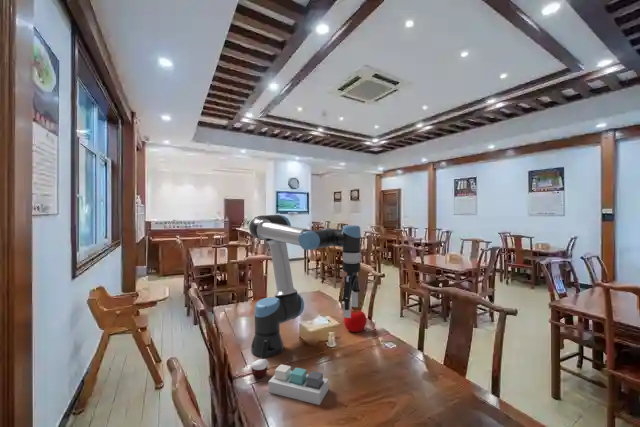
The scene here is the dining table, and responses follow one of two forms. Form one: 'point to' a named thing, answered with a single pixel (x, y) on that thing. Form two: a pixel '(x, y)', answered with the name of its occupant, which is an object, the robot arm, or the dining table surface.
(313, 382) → the charcoal key
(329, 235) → the robot arm
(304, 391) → the console
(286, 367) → the ivory key
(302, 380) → the teal key
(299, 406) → the dining table surface
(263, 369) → the cocoa
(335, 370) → the dining table surface
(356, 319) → the red apple
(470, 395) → the dining table surface
